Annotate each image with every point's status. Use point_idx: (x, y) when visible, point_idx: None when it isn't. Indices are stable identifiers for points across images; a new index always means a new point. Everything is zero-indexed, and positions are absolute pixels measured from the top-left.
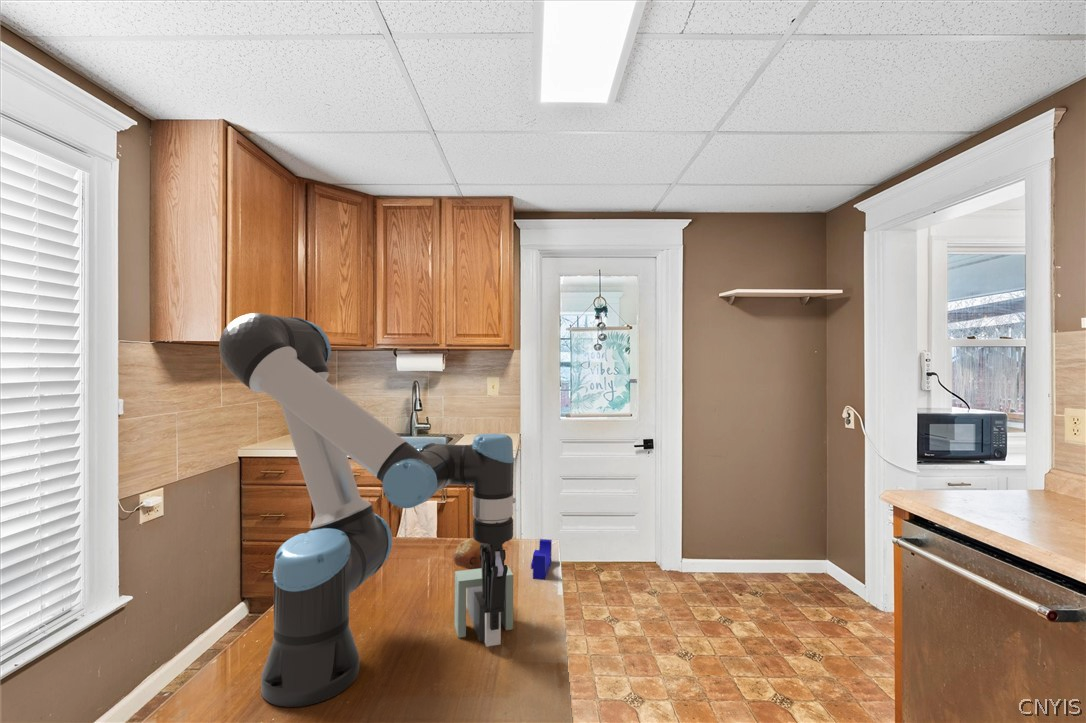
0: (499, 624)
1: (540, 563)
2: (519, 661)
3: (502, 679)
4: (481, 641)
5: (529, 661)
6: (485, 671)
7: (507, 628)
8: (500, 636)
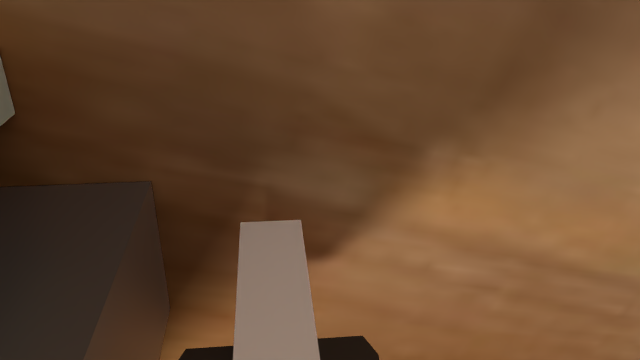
0: (312, 335)
1: None
2: (485, 107)
3: (603, 239)
4: (166, 298)
5: (518, 37)
6: (489, 307)
7: (3, 102)
8: (305, 255)
